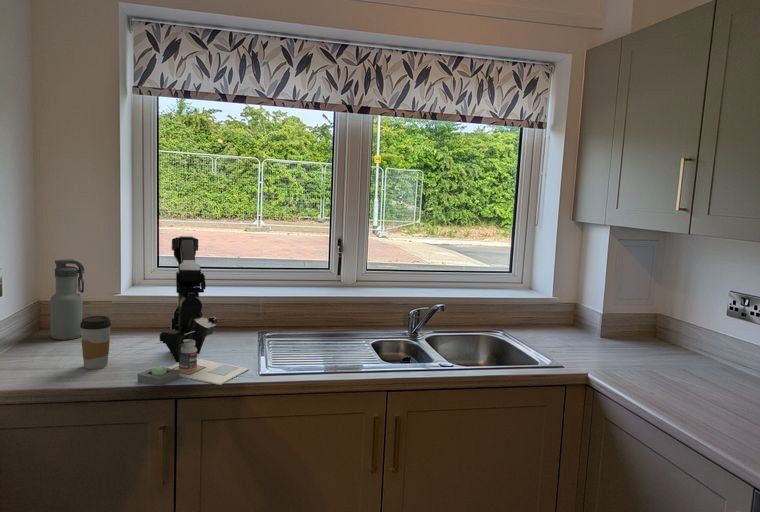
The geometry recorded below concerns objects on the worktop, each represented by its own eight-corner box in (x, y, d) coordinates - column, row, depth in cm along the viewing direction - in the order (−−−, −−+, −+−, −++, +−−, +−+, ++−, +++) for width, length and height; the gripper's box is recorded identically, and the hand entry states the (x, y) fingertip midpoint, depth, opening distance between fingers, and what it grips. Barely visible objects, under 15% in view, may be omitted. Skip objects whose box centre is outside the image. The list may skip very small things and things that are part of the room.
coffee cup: (117, 364, 158) (117, 317, 156) (94, 372, 150) (94, 323, 149) (97, 360, 161) (97, 314, 159) (73, 367, 153) (73, 319, 151)
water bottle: (80, 331, 190) (79, 257, 186) (86, 337, 183) (86, 261, 179) (48, 335, 183) (47, 258, 180) (53, 342, 176) (52, 262, 172)
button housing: (137, 381, 146) (137, 374, 145) (157, 373, 153) (158, 366, 153) (160, 386, 143) (160, 379, 143) (179, 377, 151) (179, 370, 150)
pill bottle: (190, 372, 154) (191, 344, 153) (175, 370, 155) (175, 342, 154) (200, 367, 159) (200, 339, 158) (185, 365, 160) (185, 337, 159)
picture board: (159, 372, 154) (159, 370, 154) (191, 358, 168) (192, 357, 168) (220, 385, 147) (220, 383, 147) (249, 369, 161) (249, 368, 161)
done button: (148, 377, 147) (148, 369, 147) (158, 373, 151) (158, 365, 150) (159, 379, 146) (159, 371, 145) (169, 375, 149) (169, 367, 149)
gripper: (190, 318, 144) (189, 371, 145) (229, 306, 161) (228, 353, 163) (158, 313, 147) (157, 365, 149) (200, 302, 165) (199, 348, 166)
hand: (187, 357), depth 157 cm, fingers open, 9 cm apart
